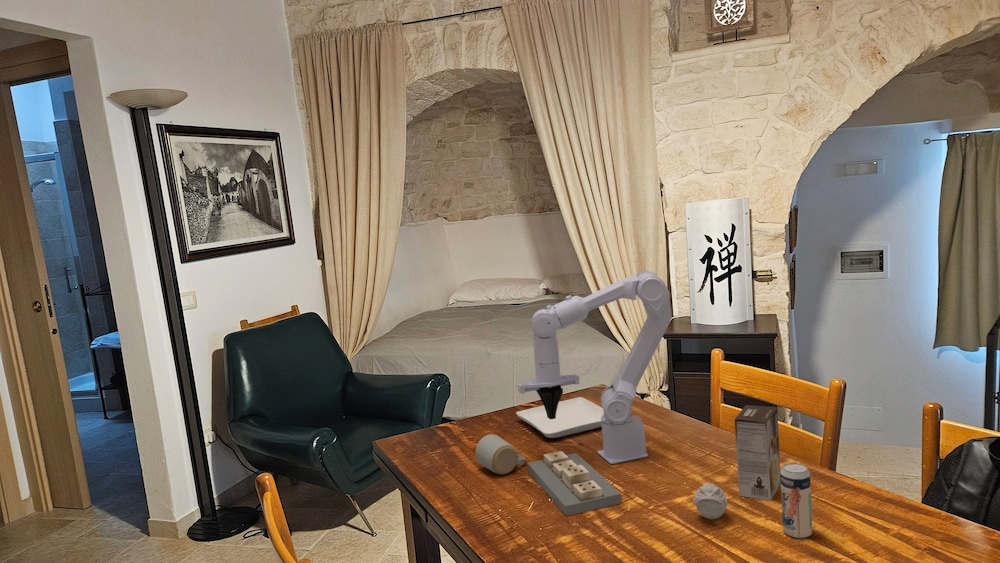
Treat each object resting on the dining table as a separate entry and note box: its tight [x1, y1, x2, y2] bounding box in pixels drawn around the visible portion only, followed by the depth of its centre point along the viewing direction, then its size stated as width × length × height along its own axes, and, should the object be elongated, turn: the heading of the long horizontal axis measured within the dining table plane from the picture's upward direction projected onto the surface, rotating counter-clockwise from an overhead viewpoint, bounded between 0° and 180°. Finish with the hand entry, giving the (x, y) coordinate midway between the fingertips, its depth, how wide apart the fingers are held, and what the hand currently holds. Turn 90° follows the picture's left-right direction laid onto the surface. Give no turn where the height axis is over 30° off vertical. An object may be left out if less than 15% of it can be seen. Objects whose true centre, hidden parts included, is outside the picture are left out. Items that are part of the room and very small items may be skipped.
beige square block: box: [573, 480, 602, 502], centre depth 137 cm, size 4×4×3 cm
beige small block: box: [562, 465, 590, 490], centre depth 143 cm, size 4×4×3 cm
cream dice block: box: [553, 460, 577, 479], centre depth 149 cm, size 4×4×3 cm
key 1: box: [543, 450, 569, 469], centre depth 154 cm, size 4×4×3 cm
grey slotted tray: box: [526, 452, 623, 517], centre depth 146 cm, size 12×24×2 cm, turn 16°
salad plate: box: [515, 396, 604, 439], centre depth 185 cm, size 21×21×3 cm
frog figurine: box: [693, 482, 729, 520], centre depth 126 cm, size 6×7×7 cm
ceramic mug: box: [475, 433, 526, 476], centre depth 159 cm, size 11×8×8 cm
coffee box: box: [734, 404, 781, 501], centre depth 135 cm, size 9×6×16 cm
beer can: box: [780, 462, 814, 539], centre depth 118 cm, size 5×5×12 cm
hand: (551, 417), depth 159 cm, fingers closed
